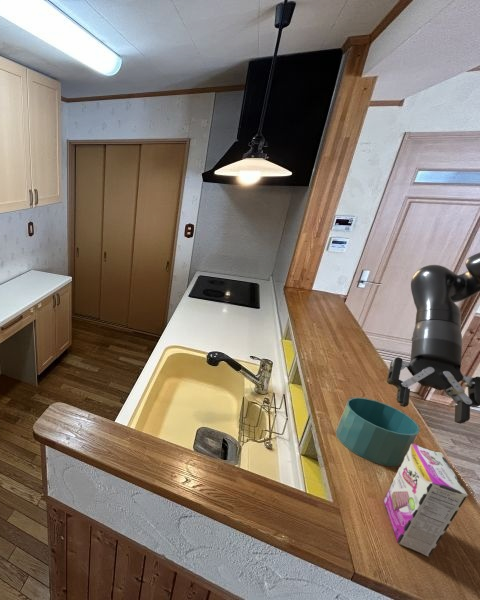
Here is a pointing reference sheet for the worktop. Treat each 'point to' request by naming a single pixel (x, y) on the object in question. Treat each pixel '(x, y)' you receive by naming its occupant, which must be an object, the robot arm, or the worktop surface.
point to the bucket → (376, 431)
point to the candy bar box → (423, 499)
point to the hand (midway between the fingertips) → (431, 413)
